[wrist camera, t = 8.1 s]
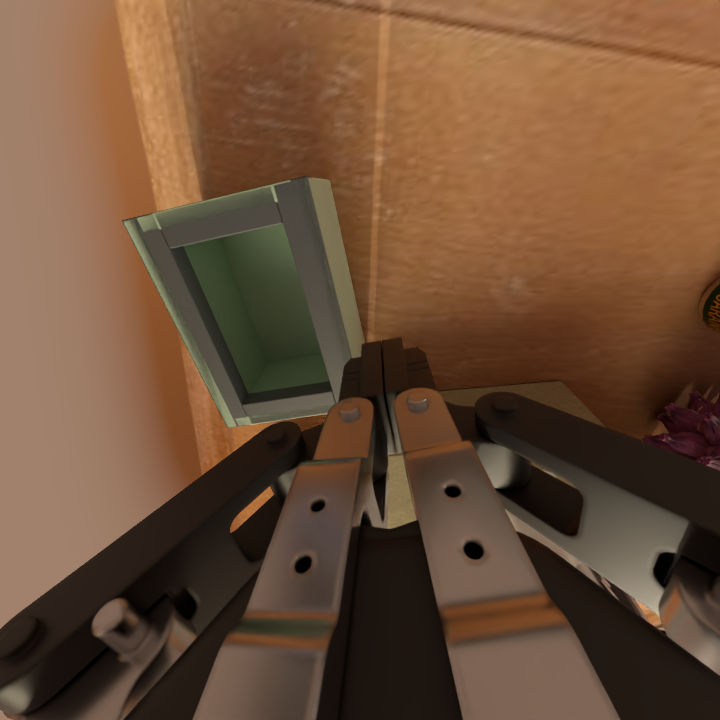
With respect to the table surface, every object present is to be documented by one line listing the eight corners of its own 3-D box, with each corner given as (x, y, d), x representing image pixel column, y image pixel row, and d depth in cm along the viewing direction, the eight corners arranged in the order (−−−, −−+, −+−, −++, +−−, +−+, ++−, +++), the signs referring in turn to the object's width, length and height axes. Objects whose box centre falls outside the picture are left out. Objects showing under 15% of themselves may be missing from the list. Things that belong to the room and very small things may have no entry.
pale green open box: (329, 179, 23) (203, 209, 24) (307, 175, 15) (121, 220, 16) (366, 349, 30) (265, 366, 31) (364, 408, 22) (227, 428, 23)
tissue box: (377, 466, 36) (380, 637, 23) (367, 396, 32) (363, 557, 18) (549, 454, 35) (667, 633, 21) (565, 379, 30) (729, 543, 16)
